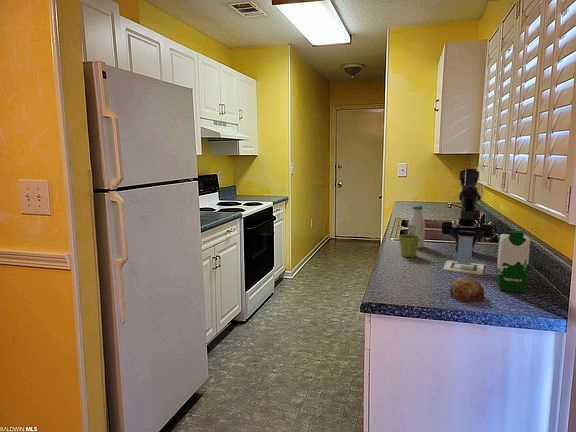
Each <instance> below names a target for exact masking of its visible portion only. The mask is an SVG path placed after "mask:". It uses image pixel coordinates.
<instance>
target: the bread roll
mask: <svg viewBox="0 0 576 432" xmlns="http://www.w3.org/2000/svg"><path fill="white" fill-rule="evenodd" d="M449 296H450V297H451V298H453V299H456V300H458V301H462V302H466V301H468V302H469V303H475V302H481V301H482V300H483V299H484V297H485V289H484V287H483V286H482V285H481V284H480V282H478V281H477V280H476V279H474V278H470V277H459V278H457V279H455V280H454V281H453V282H452V284H451V285H450V289H449ZM480 300H481V301H480ZM468 302H467V303H468Z"/></svg>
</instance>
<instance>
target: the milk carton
mask: <svg viewBox="0 0 576 432" xmlns="http://www.w3.org/2000/svg"><path fill="white" fill-rule="evenodd" d="M524 234H525V232H524V231H522V230H509V233H508V234H507V233H505V234H504V233H501V234H500V235H499V236H500V237H499V241H498V251H497V261H496V262H497V264H496V281H497V282H496V284H497V286H498V289H499V291H500V292H506V293H517V294H518V293H519V294H525V291H526V286H527V285H526V284H527V280H528V269H529V263H530V262H529V261H530V250H531V249H530V248H531V239H530V238H529V237H528V236H526V235H524Z"/></svg>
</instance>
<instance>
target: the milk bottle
mask: <svg viewBox="0 0 576 432" xmlns="http://www.w3.org/2000/svg"><path fill="white" fill-rule="evenodd" d="M423 209H424V207H423V205H417V204H416V205H412V213H411V216H410V218H409V219H408V226H407V235H417V236H420V237H421V238H420V239H419V242H418V247H417V249H421V248H424V246H425V235H426V234H425V232H426V230H425V229H426V223H425V221H426V220H425V218H424V216H423Z"/></svg>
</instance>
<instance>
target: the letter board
mask: <svg viewBox="0 0 576 432" xmlns="http://www.w3.org/2000/svg"><path fill="white" fill-rule="evenodd" d="M484 267H485V264H482V263H474V262H471V265H467V264H458V263H457V260H456V261H454V260H446V262H445V263H444V266H443V268H442V271H444V272H445V271H446V272H454V273H462V274H470V275H478V276H479V275H480V276H483V274H484Z"/></svg>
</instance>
